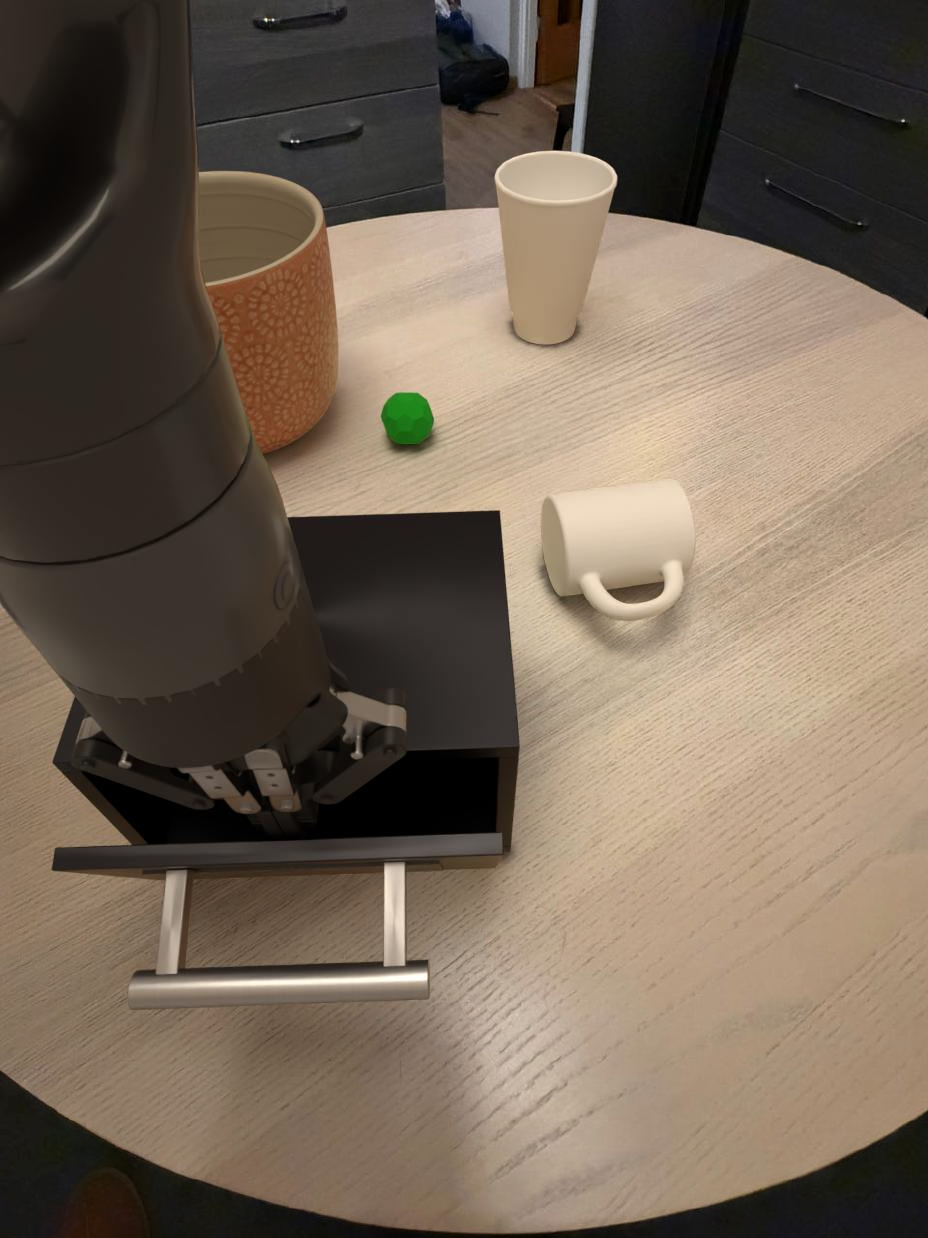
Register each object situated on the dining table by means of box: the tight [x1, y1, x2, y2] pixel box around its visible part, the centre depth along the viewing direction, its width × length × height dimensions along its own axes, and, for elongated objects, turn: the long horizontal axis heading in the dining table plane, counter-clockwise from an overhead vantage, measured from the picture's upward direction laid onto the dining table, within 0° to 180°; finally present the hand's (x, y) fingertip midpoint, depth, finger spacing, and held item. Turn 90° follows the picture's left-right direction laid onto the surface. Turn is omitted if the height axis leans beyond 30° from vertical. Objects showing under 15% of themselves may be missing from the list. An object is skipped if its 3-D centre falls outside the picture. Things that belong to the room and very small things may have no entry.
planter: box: [199, 170, 339, 455], centre depth 68 cm, size 21×21×19 cm
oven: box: [51, 509, 521, 853], centre depth 46 cm, size 22×16×15 cm
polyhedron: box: [380, 391, 435, 445], centre depth 71 cm, size 5×5×5 cm
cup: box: [493, 150, 618, 345], centre depth 78 cm, size 12×12×16 cm
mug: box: [540, 477, 697, 622], centre depth 57 cm, size 12×10×8 cm
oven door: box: [51, 832, 505, 1011], centre depth 38 cm, size 20×7×12 cm, turn 92°
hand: (291, 821), depth 35 cm, fingers closed
